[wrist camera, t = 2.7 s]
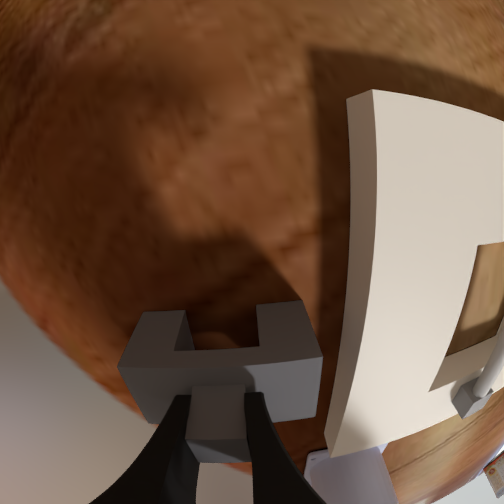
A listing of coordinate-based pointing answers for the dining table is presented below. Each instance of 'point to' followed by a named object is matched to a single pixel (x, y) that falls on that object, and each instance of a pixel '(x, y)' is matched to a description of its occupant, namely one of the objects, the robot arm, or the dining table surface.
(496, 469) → the cracker box
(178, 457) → the robot arm
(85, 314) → the dining table surface
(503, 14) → the dining table surface
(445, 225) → the white slotted board
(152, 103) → the dining table surface
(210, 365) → the grey notched block
